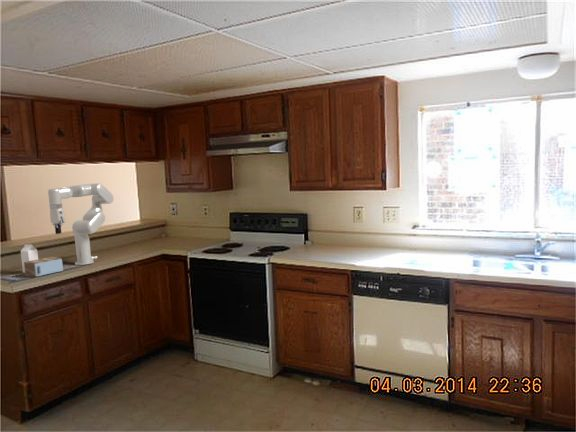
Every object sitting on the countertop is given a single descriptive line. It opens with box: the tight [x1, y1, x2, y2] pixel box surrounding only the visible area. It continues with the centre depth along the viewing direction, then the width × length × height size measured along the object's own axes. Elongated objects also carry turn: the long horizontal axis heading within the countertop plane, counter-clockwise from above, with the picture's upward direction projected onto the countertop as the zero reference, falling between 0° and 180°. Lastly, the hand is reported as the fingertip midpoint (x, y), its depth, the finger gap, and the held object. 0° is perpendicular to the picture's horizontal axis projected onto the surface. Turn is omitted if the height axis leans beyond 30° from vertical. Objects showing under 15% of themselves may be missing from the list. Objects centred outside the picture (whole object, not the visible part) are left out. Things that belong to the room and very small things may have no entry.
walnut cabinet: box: [24, 256, 62, 278], centre depth 296 cm, size 18×12×9 cm, turn 148°
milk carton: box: [20, 243, 39, 274], centre depth 302 cm, size 7×7×19 cm
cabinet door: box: [34, 258, 64, 277], centre depth 292 cm, size 18×2×8 cm, turn 147°
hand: (58, 233), depth 303 cm, fingers closed
